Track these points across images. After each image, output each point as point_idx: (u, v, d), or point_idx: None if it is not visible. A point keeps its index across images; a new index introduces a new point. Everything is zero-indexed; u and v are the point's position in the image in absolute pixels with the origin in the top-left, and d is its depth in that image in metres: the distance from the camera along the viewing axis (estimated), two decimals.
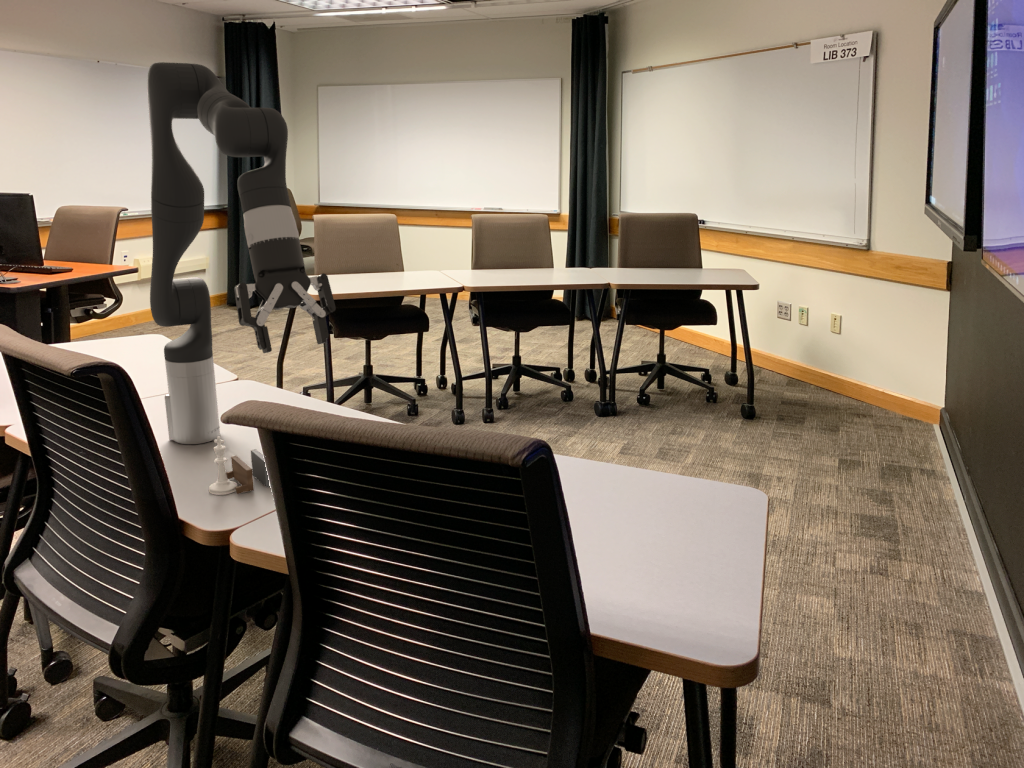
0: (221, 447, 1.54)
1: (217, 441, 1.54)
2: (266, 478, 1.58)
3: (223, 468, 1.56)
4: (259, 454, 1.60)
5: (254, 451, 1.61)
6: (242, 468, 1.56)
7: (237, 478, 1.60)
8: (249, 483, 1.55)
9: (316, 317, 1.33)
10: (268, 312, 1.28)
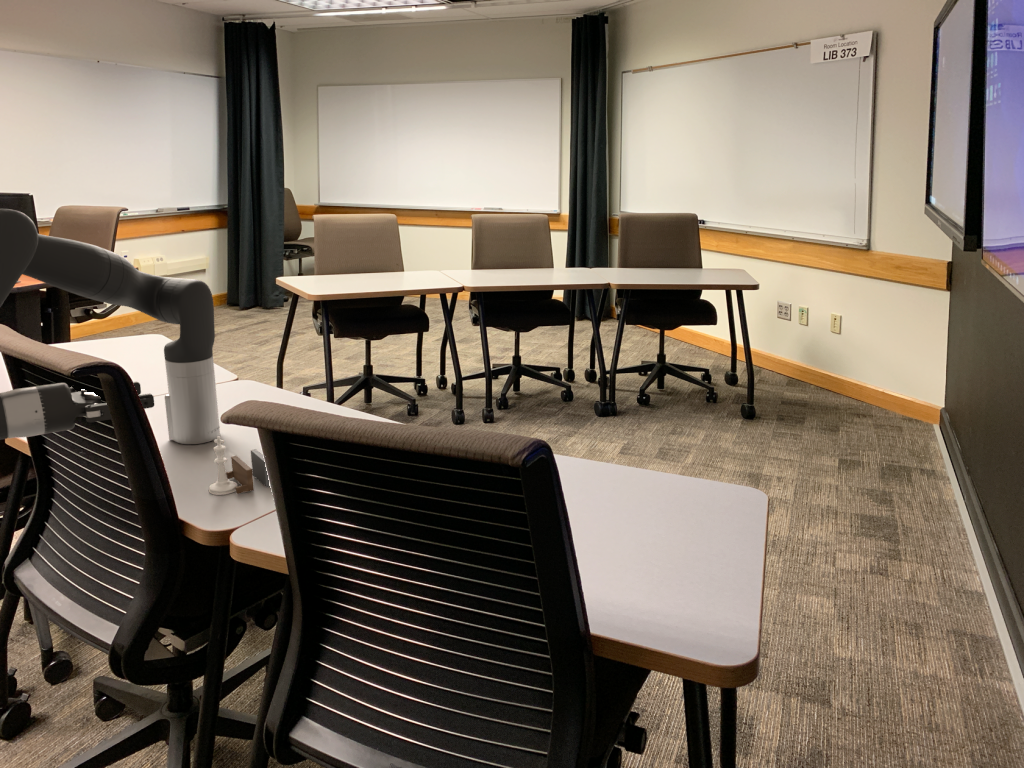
0: (221, 447, 1.54)
1: (217, 441, 1.54)
2: (266, 478, 1.58)
3: (223, 468, 1.56)
4: (259, 454, 1.60)
5: (254, 451, 1.61)
6: (242, 468, 1.56)
7: (237, 478, 1.60)
8: (249, 483, 1.55)
9: None
10: None
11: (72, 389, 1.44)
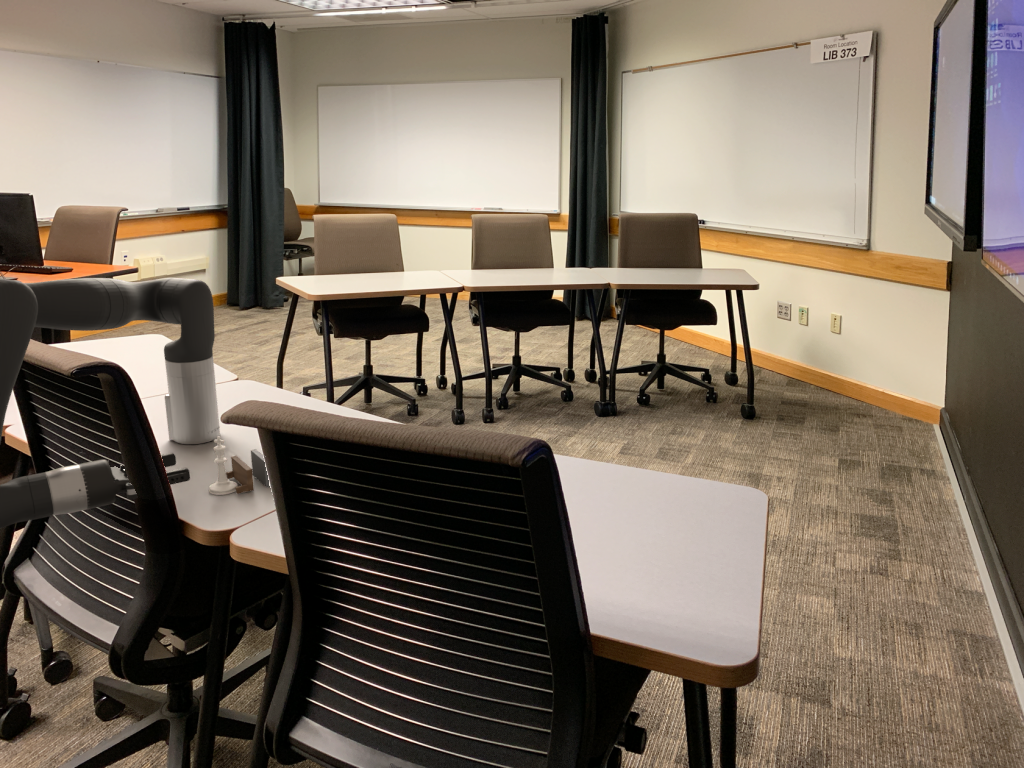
0: (221, 447, 1.54)
1: (217, 441, 1.54)
2: (266, 478, 1.58)
3: (223, 468, 1.56)
4: (259, 454, 1.60)
5: (254, 451, 1.61)
6: (242, 468, 1.56)
7: (237, 478, 1.60)
8: (249, 483, 1.55)
9: None
10: None
11: None
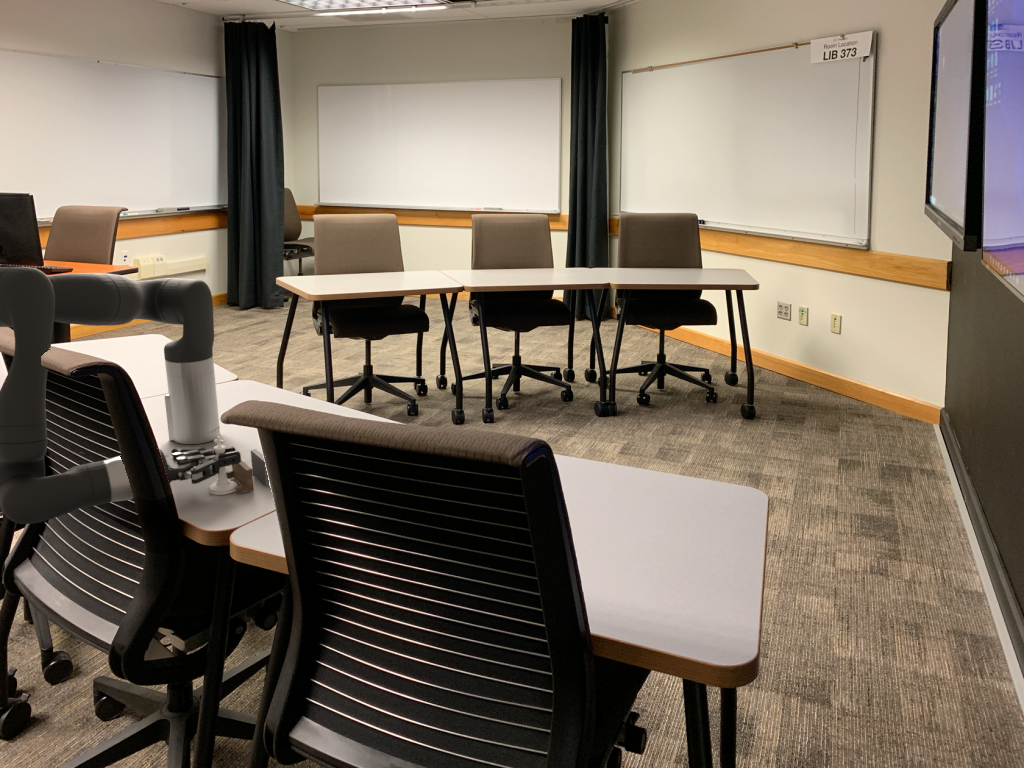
0: (221, 447, 1.54)
1: (217, 441, 1.54)
2: (266, 478, 1.58)
3: (223, 468, 1.56)
4: (259, 454, 1.60)
5: (254, 451, 1.61)
6: (242, 468, 1.56)
7: (237, 478, 1.60)
8: (249, 483, 1.55)
9: None
10: None
11: (172, 451, 1.56)
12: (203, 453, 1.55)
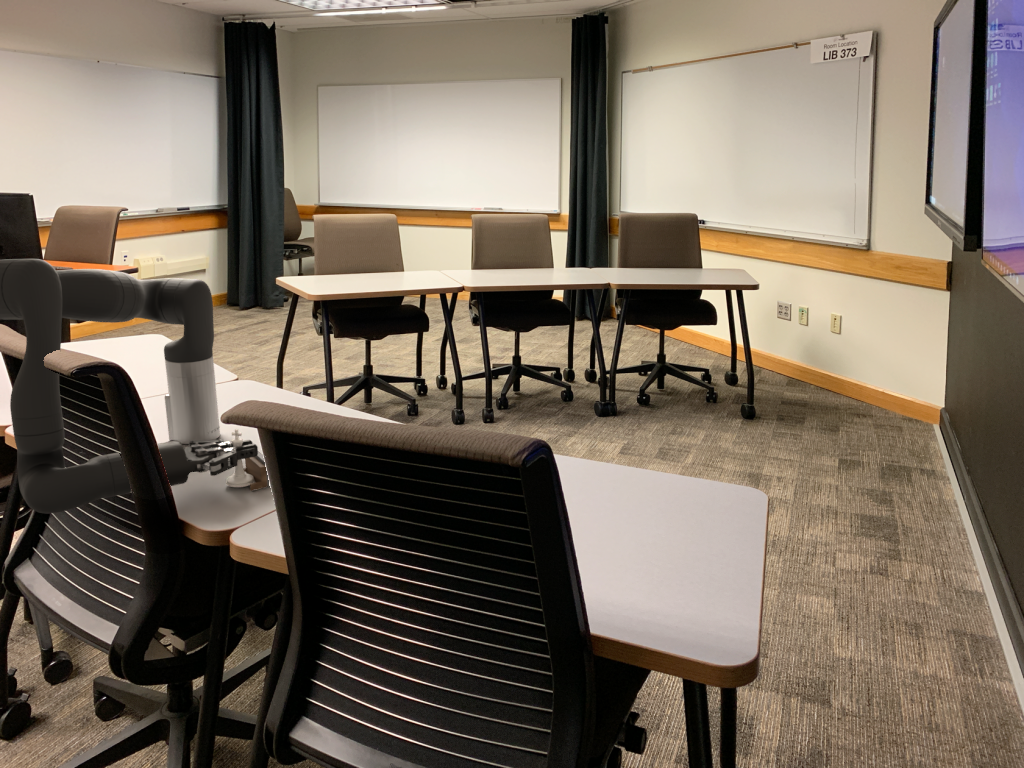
0: (239, 440, 1.56)
1: (235, 434, 1.56)
2: None
3: (240, 461, 1.57)
4: (259, 454, 1.60)
5: None
6: (256, 465, 1.58)
7: None
8: (263, 480, 1.57)
9: None
10: None
11: (190, 443, 1.57)
12: (221, 446, 1.56)
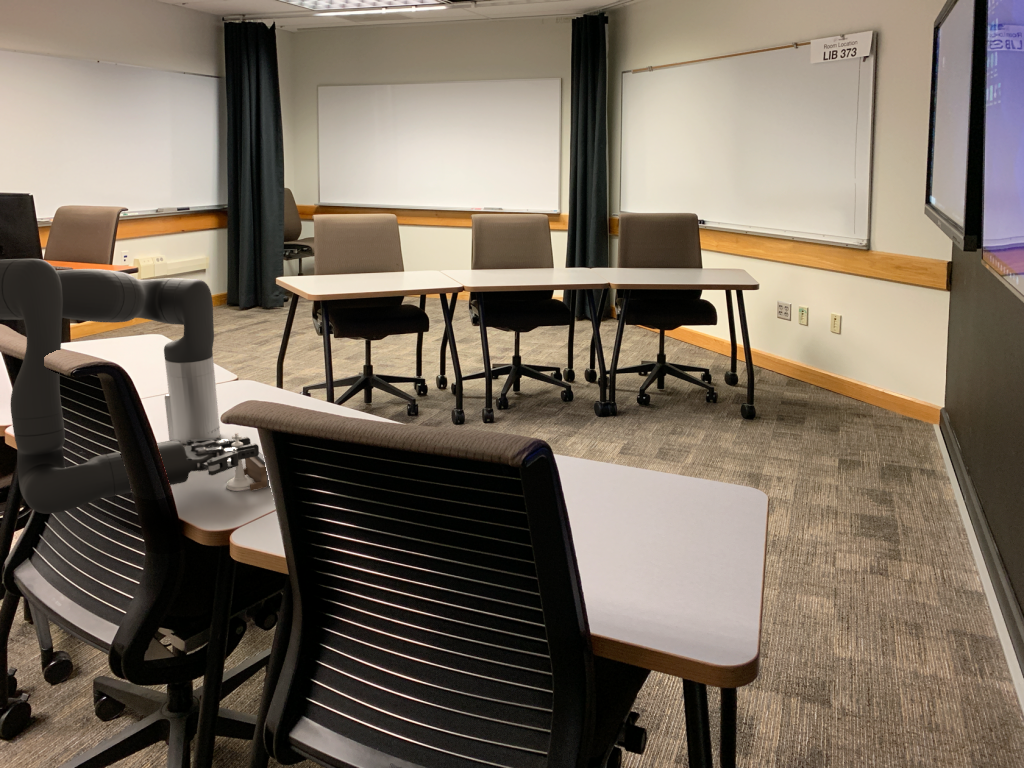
0: (239, 443, 1.56)
1: (235, 437, 1.56)
2: None
3: (240, 464, 1.57)
4: (259, 454, 1.60)
5: None
6: (256, 465, 1.58)
7: (250, 475, 1.61)
8: (263, 480, 1.57)
9: None
10: (217, 457, 1.57)
11: (187, 442, 1.57)
12: (219, 443, 1.57)
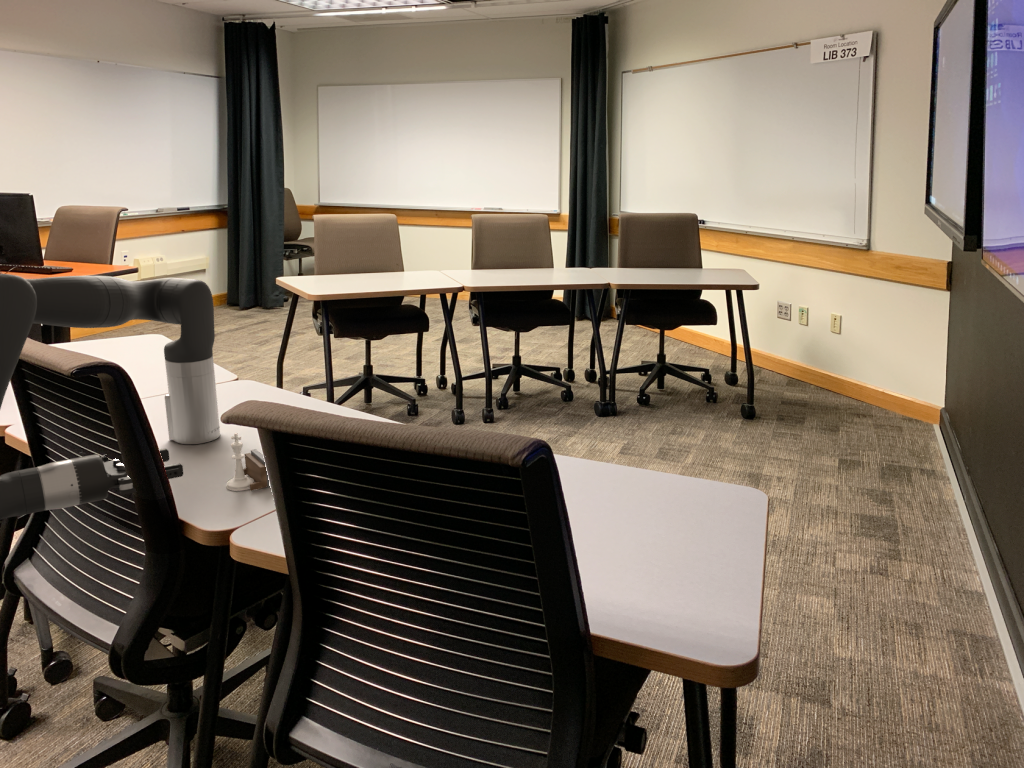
0: (238, 444, 1.56)
1: (234, 438, 1.56)
2: None
3: (240, 464, 1.57)
4: (259, 454, 1.60)
5: (254, 451, 1.61)
6: (256, 465, 1.58)
7: (250, 475, 1.61)
8: (263, 480, 1.57)
9: None
10: None
11: (104, 458, 1.49)
12: None
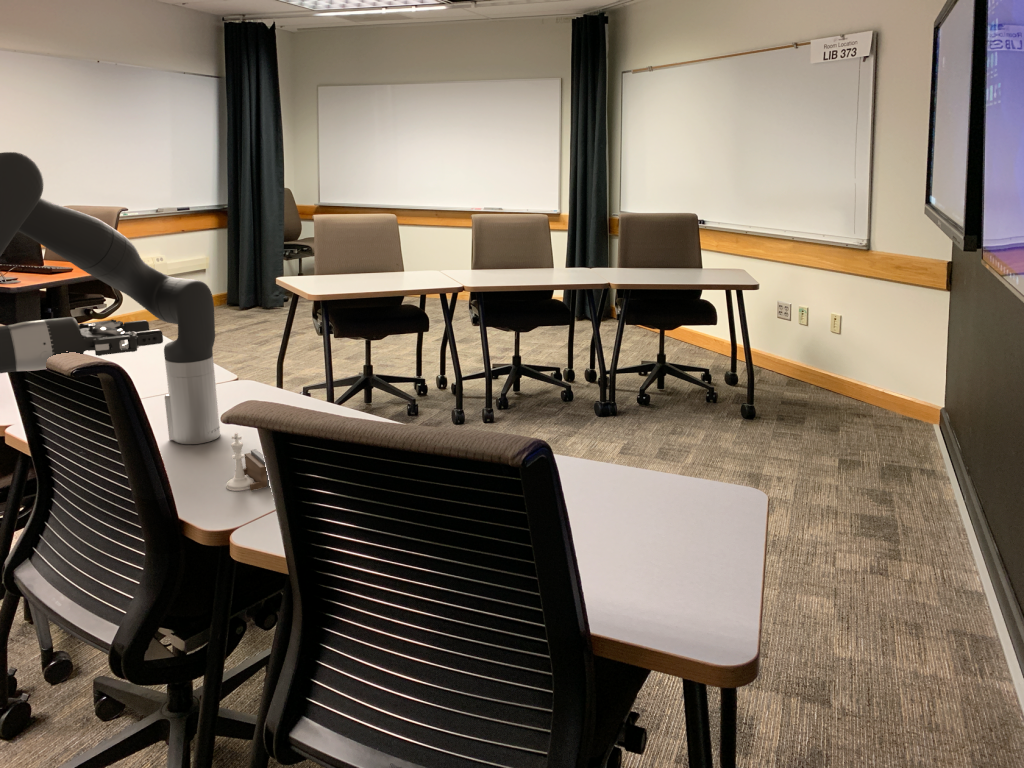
0: (238, 443, 1.56)
1: (235, 437, 1.56)
2: None
3: (240, 464, 1.57)
4: (259, 454, 1.60)
5: (254, 451, 1.61)
6: (256, 465, 1.58)
7: (250, 475, 1.61)
8: (263, 480, 1.57)
9: None
10: None
11: (80, 326, 1.43)
12: (116, 324, 1.44)
